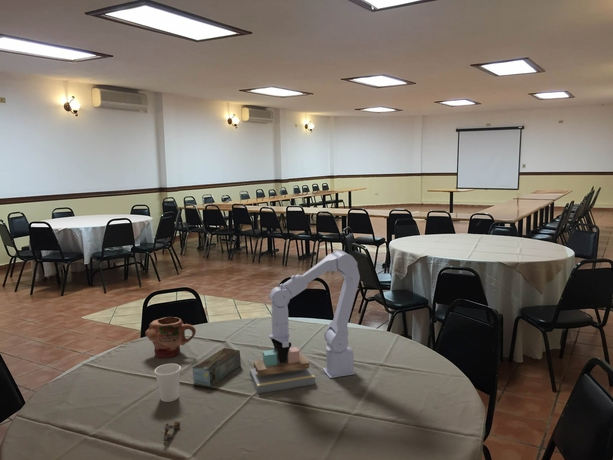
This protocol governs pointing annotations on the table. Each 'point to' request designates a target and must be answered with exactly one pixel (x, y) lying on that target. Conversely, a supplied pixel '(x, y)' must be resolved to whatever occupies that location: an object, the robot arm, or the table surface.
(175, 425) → the toy blaster gun
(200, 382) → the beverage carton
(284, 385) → the grey flat block
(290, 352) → the crate rose
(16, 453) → the table surface
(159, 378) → the dixie cup
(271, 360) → the block
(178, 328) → the terracotta mug
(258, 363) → the pallet
